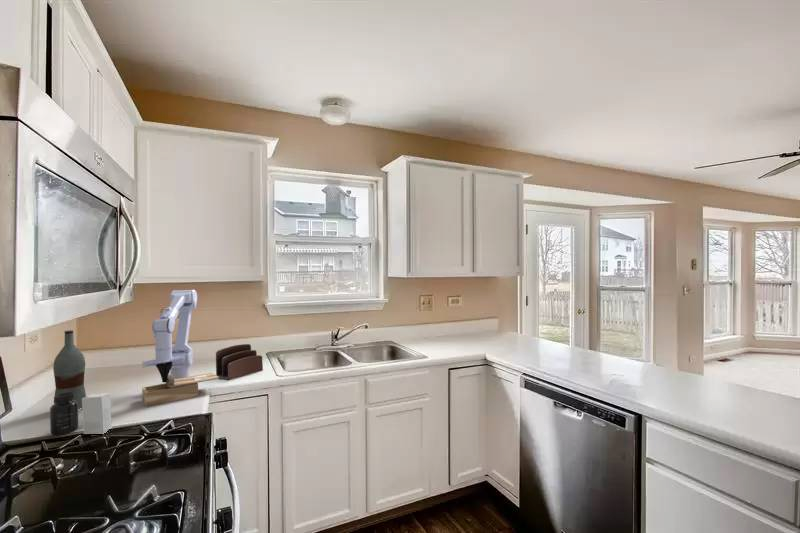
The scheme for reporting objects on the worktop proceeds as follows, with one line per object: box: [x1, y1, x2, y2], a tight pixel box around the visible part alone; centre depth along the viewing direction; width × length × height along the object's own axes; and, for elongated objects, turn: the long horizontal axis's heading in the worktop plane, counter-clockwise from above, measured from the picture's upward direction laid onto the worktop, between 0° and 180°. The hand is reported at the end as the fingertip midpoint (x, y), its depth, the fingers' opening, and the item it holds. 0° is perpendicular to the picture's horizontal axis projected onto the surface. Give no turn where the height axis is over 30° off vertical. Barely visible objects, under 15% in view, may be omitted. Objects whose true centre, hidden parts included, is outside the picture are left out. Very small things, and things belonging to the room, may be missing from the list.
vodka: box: [52, 329, 87, 410], centre depth 143 cm, size 9×9×30 cm
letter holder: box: [215, 343, 264, 381], centre depth 188 cm, size 10×20×14 cm, turn 149°
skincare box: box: [81, 392, 113, 435], centre depth 119 cm, size 6×4×12 cm
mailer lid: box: [164, 372, 219, 388], centre depth 159 cm, size 11×18×3 cm, turn 131°
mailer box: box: [141, 382, 199, 407], centre depth 153 cm, size 11×18×5 cm, turn 131°
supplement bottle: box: [49, 392, 79, 436], centre depth 122 cm, size 7×7×12 cm
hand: (164, 381), depth 152 cm, fingers closed
